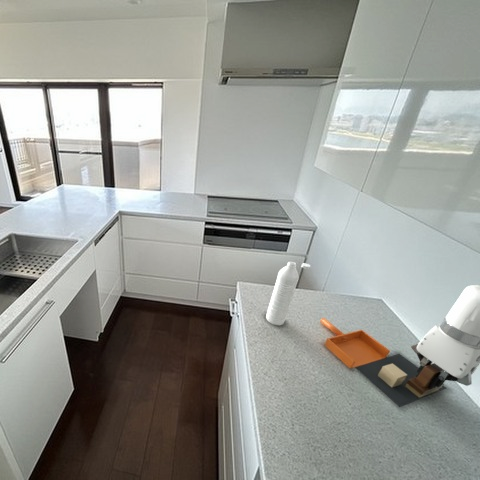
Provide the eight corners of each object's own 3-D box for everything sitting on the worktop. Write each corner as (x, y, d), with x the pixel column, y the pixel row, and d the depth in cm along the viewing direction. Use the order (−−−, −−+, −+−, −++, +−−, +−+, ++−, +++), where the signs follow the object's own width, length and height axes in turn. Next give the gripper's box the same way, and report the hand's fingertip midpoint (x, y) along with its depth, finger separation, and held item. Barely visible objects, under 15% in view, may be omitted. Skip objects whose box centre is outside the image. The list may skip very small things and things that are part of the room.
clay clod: (386, 372, 77) (392, 363, 76) (401, 384, 74) (407, 374, 72) (377, 375, 76) (383, 366, 75) (391, 387, 73) (398, 378, 71)
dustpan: (385, 358, 83) (390, 350, 81) (350, 369, 78) (354, 361, 77) (335, 319, 98) (338, 312, 97) (303, 326, 94) (305, 319, 93)
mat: (398, 354, 84) (399, 353, 84) (446, 388, 74) (446, 388, 74) (354, 367, 79) (354, 367, 79) (399, 407, 68) (399, 406, 68)
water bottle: (266, 323, 94) (283, 265, 84) (265, 312, 100) (280, 256, 90) (291, 329, 92) (312, 270, 82) (288, 317, 98) (308, 261, 88)
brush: (423, 379, 76) (438, 358, 72) (439, 390, 73) (455, 369, 69) (403, 385, 74) (418, 364, 70) (419, 398, 70) (435, 376, 67)
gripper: (518, 354, 58) (473, 405, 66) (433, 308, 72) (404, 355, 80) (499, 361, 56) (454, 413, 64) (415, 313, 70) (387, 360, 78)
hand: (426, 380), depth 72 cm, fingers closed on brush, 2 cm apart
